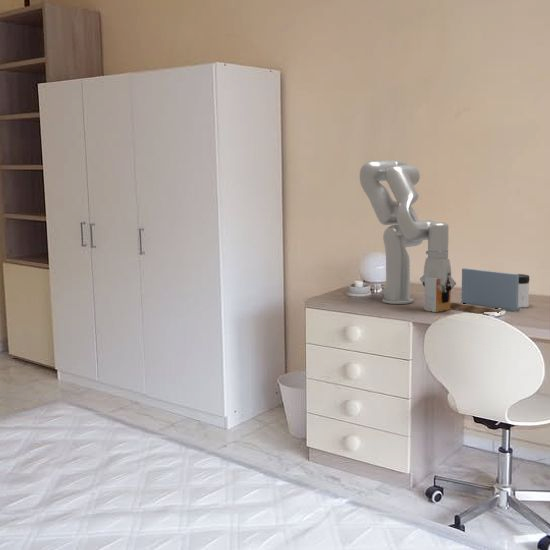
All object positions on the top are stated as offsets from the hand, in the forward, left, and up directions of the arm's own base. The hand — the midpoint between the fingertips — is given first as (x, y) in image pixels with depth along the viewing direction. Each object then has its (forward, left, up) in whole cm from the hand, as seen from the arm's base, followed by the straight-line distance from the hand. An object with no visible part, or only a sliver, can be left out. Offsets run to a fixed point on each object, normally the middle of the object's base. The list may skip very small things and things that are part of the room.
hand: (437, 300), depth 276 cm
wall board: (+11, +18, -4) cm, 21 cm away
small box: (0, 0, -4) cm, 4 cm away
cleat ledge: (+11, +6, -4) cm, 13 cm away
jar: (+18, +27, -4) cm, 33 cm away
